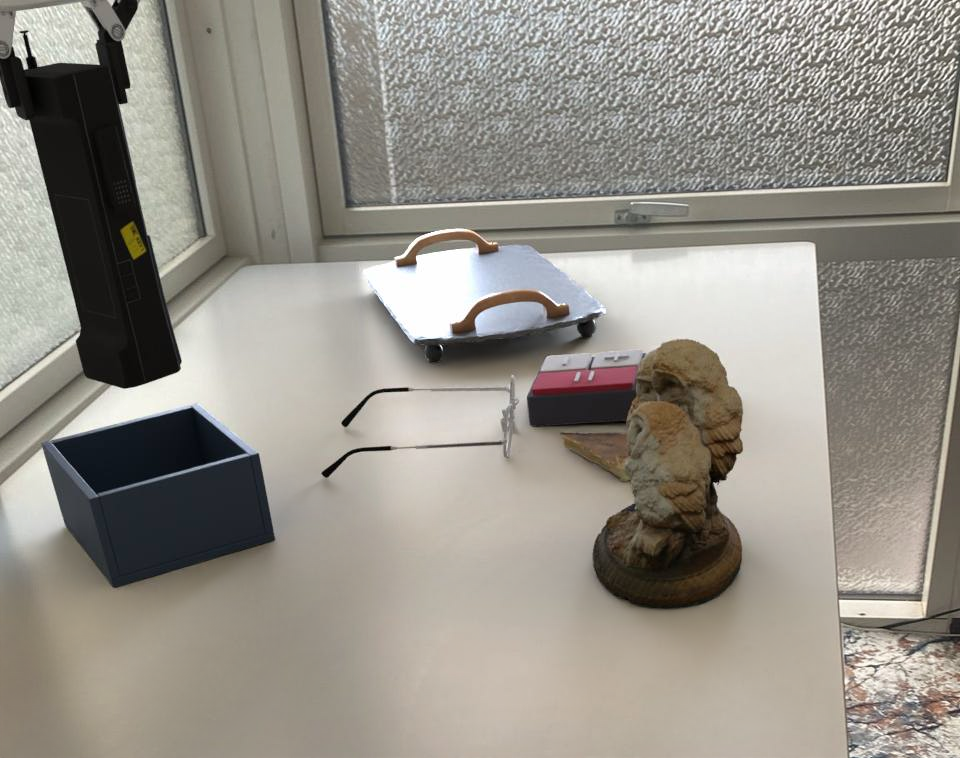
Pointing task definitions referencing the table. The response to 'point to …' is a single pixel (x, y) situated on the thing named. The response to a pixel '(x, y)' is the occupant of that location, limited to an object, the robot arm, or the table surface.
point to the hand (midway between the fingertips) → (72, 107)
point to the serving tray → (478, 293)
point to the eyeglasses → (507, 415)
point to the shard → (601, 450)
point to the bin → (159, 493)
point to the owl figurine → (675, 483)
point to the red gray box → (584, 388)
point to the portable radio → (100, 224)
